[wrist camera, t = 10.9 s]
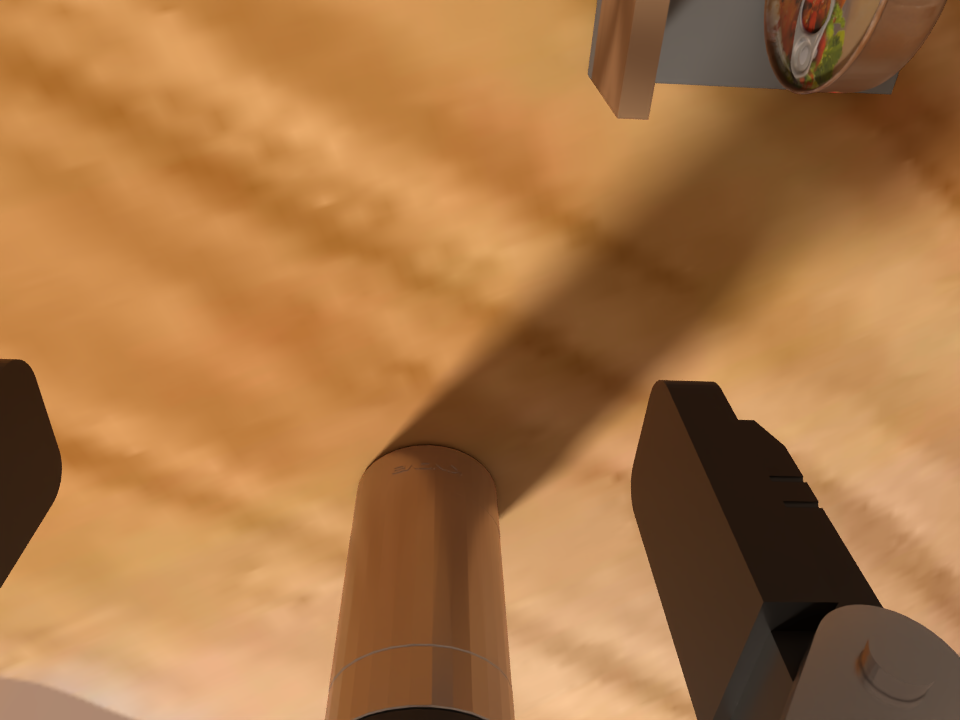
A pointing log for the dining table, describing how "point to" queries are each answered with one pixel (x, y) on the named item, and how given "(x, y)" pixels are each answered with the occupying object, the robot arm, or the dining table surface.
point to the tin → (844, 41)
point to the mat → (717, 46)
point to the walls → (629, 54)
